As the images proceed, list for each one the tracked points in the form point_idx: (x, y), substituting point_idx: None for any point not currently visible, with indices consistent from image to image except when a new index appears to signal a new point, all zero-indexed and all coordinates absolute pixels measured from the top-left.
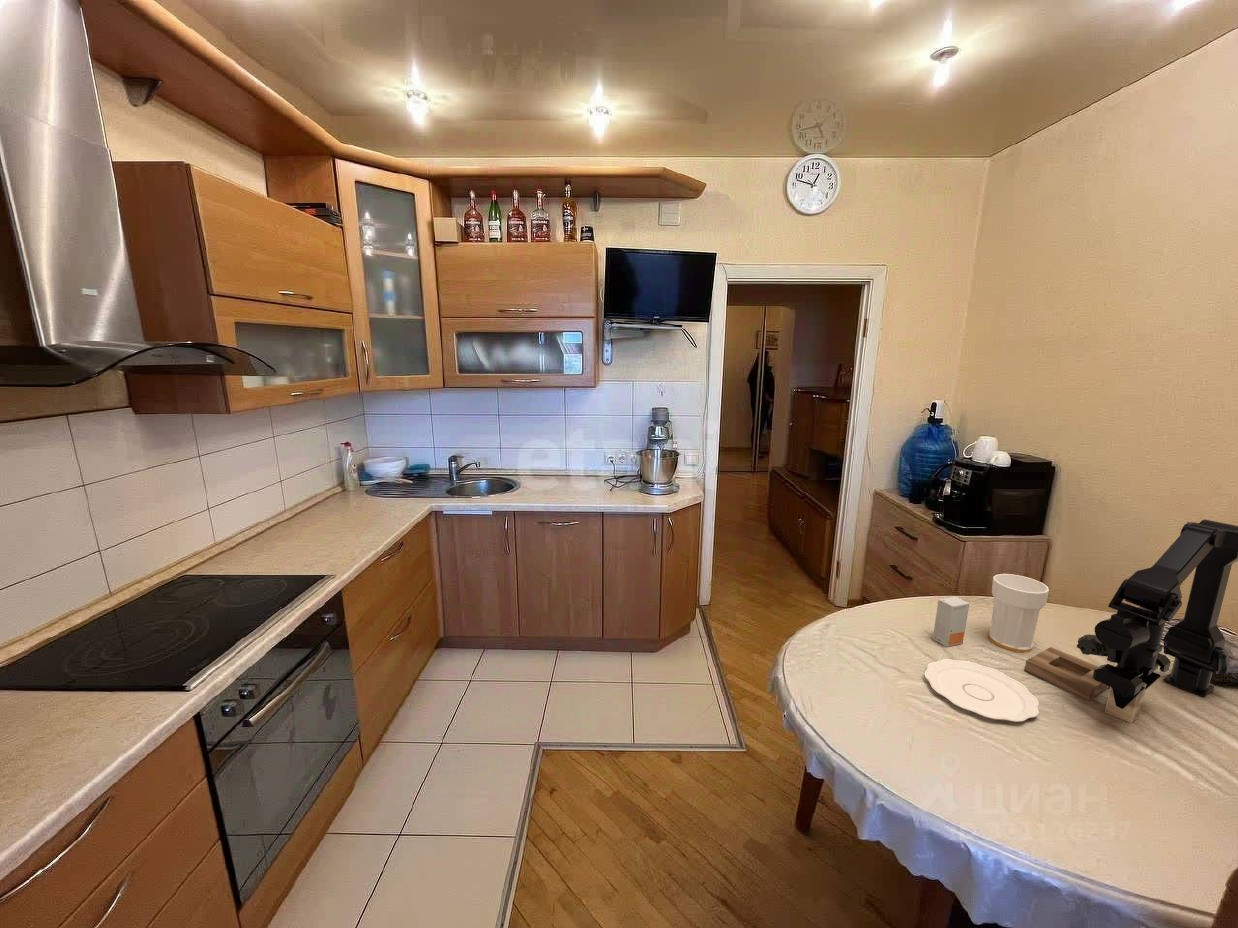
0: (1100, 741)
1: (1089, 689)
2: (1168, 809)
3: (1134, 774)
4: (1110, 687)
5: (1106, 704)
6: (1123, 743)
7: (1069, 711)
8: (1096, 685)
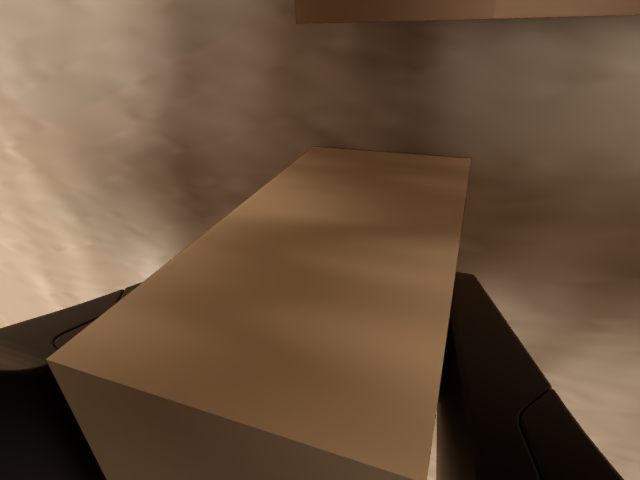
0: (44, 206)
1: (302, 2)
2: None
3: (22, 307)
4: (172, 262)
5: (288, 168)
6: (124, 268)
7: (87, 6)
8: (480, 10)
